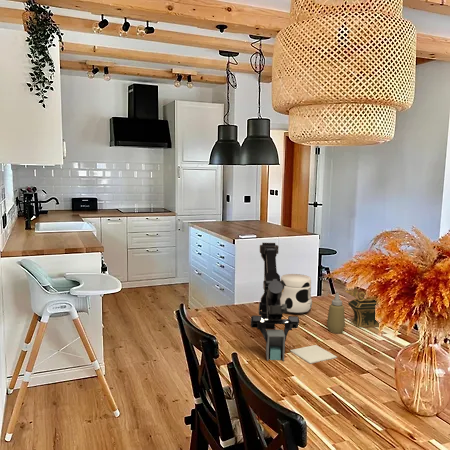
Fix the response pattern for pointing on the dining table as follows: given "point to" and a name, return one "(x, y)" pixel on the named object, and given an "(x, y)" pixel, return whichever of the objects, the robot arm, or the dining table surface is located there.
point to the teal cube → (274, 352)
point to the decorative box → (363, 310)
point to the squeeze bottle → (336, 316)
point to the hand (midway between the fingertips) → (275, 342)
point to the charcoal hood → (275, 341)
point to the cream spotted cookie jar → (296, 293)
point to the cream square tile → (313, 354)
